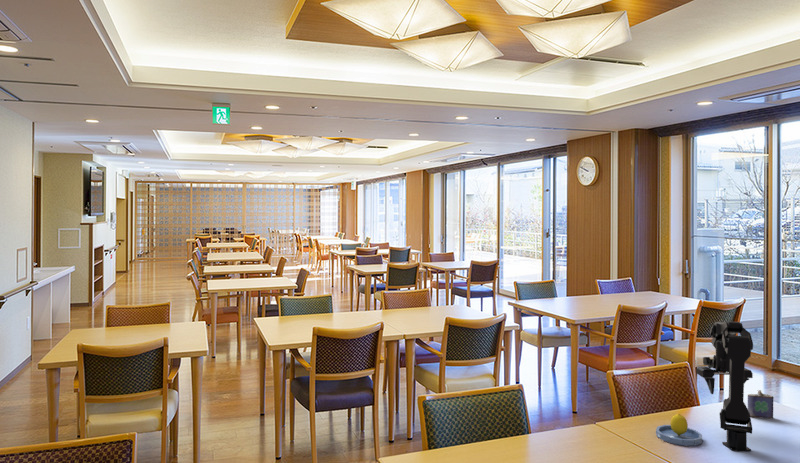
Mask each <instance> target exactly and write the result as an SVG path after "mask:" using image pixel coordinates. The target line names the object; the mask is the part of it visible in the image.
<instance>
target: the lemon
mask: <svg viewBox="0 0 800 463" xmlns="http://www.w3.org/2000/svg"><path fill="white" fill-rule="evenodd" d="M670 425H671V428H672V430H673V431H674V432H675V433H676V434H677V435H679V436H680V435H681V434H684V433H685V432H686V431H687V427H688V421H687V419H686V417H685V416H684V415H681V414H680V413H677V414H676V413H675V414H674V415H673V416H671V419H670ZM688 428H689V427H688Z"/></svg>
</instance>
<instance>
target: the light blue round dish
mask: <svg viewBox="0 0 800 463" xmlns="http://www.w3.org/2000/svg"><path fill="white" fill-rule="evenodd" d="M655 436H656V437H657V438H658V439H660V440H661V441H663V442H665V443H669V444H672V445H676V446H683V447H694V446H697V447H698V446H699V445H702V443H703V434H702V433H700V432H699V430H698V431H697V430H696V429H692V428H690V427H687V431H686V432H685V433H684V434H681V435H680V436H679V435H677V434H676V433H675V432H674V431H673V430H672V428H671V424H662V425H658V426H656V429H655Z"/></svg>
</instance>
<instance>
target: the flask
mask: <svg viewBox="0 0 800 463" xmlns="http://www.w3.org/2000/svg"><path fill="white" fill-rule="evenodd" d="M747 409H748V412H749V413H750V416H751V417H750V418H757V417H768V418H767V419H770V418H772V419H773V418H774V396H773V395H772V394H768V393H763V392H762V390H759V389H758V390H757V393H755V394H754V393H748V394H747Z"/></svg>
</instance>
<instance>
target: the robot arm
mask: <svg viewBox="0 0 800 463" xmlns="http://www.w3.org/2000/svg"><path fill="white" fill-rule="evenodd" d="M737 334H739V335H737ZM709 336H710V338H711V345H712V346H713V347H714V349H715V354H714V355H713V358H711V357H710V356H704V357H702V363H703V366H697V368H696V370H695V371H696V374H697V375H699V376H700V377H702V378H703V379H704V380H705V382H706V385H707V387H708V390H709V392H710V394H711V395H714V393H715V381H716V380H715V379H716V378H715V377H714V376H715V375H719V376H720V375H721V376H722V375H723V376H724V375H725V376H727V375H728V376H729V379H728V397H727V398H724V399H723V404H722V408H721V409H720V412H719V424H720V426H719V427H720V429H722V430H723V431H726V441H721V442H722V445H723V446H725V447H727V448H728V449H729V450H731V451H734V452H736V451H737V452H752V449H751V448H750V447H749V446H747V444H748V442H747V439H748V438H747V436H748V435H747V434H750V435H752V434H753V424H752V417H750V413H749V412H748V406H747V405H746V403H745V402H744V397H745V396H744V395H745V394H744V393H745V392H744V391H745V390H744V388H745V383H746V382H747V381H749V380H750V379H753V376H754V374H753V371H752V370H751V369H748V368H746V366H745V363H746V362H747V360H749V358H751V356H752V355H751V354H752V353H751V352H752V351H753V350H754V342H753V338H752V335H751V333H750V332H749V331H748V330H746V329H745V328H744V326H743V323H742V322H740V321H731V320H730V321H725V322H723V321H714V324H712V326H711V327H710V332H709Z"/></svg>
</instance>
